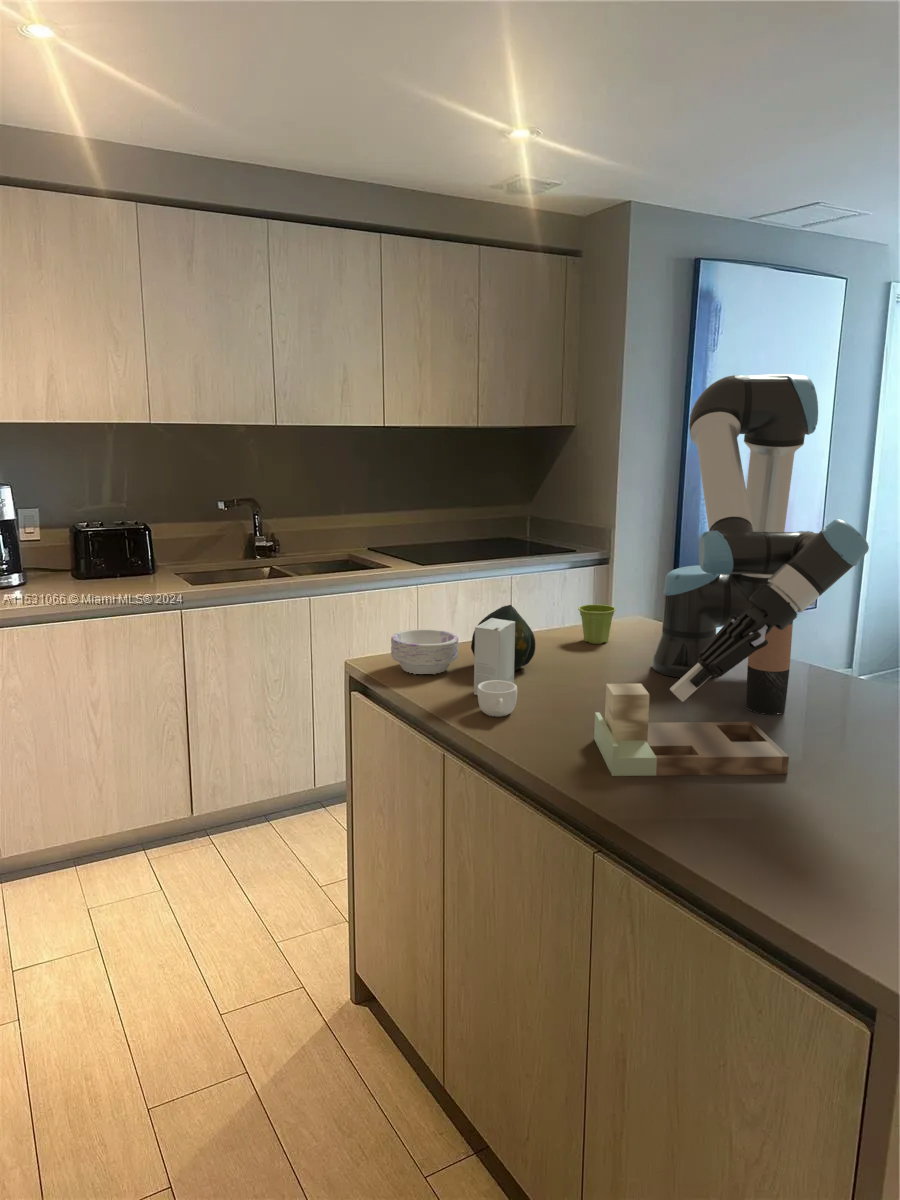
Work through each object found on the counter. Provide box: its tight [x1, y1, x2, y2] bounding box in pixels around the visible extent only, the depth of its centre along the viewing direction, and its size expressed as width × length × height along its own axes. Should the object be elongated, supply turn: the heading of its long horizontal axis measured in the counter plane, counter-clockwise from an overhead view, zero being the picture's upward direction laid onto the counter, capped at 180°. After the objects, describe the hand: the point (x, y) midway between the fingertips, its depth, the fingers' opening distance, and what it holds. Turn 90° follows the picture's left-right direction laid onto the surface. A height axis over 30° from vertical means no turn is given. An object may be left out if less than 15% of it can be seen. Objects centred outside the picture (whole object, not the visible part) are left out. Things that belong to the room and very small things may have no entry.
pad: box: [593, 711, 657, 777], centre depth 144 cm, size 7×16×5 cm, turn 1°
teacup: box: [477, 680, 518, 718], centre depth 164 cm, size 10×8×5 cm
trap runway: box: [646, 721, 790, 776], centre depth 144 cm, size 21×16×3 cm
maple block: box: [604, 683, 650, 741], centre depth 145 cm, size 6×6×8 cm
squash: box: [470, 604, 536, 672], centre depth 195 cm, size 14×15×15 cm
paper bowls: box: [390, 628, 459, 675], centre depth 194 cm, size 15×15×8 cm
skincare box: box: [473, 618, 515, 696], centre depth 177 cm, size 8×6×15 cm
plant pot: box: [577, 604, 616, 645], centre depth 218 cm, size 9×9×9 cm
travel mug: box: [745, 620, 794, 715], centre depth 166 cm, size 8×8×20 cm
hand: (676, 695), depth 145 cm, fingers closed
